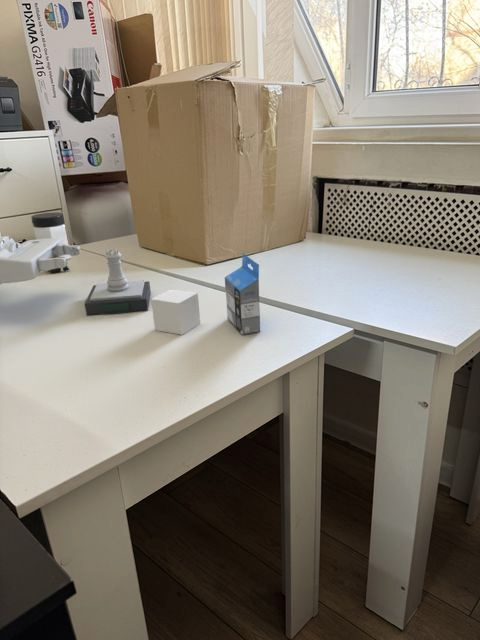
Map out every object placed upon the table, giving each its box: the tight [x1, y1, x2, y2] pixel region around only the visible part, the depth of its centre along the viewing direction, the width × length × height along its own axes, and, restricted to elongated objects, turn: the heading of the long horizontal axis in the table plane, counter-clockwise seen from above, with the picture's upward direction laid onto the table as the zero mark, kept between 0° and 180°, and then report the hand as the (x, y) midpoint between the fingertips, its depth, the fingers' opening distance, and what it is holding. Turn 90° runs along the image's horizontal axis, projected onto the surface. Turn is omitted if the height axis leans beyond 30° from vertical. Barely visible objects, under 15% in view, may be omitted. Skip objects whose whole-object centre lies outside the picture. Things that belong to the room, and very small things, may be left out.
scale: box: [84, 280, 152, 316], centre depth 106 cm, size 12×12×3 cm
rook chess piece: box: [104, 248, 129, 292], centre depth 104 cm, size 4×4×8 cm
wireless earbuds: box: [48, 265, 71, 274], centre depth 131 cm, size 5×7×3 cm, turn 30°
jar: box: [31, 212, 72, 260], centre depth 140 cm, size 9×8×12 cm
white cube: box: [150, 288, 201, 336], centre depth 93 cm, size 6×6×6 cm
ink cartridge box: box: [224, 252, 261, 336], centre depth 91 cm, size 9×4×12 cm, turn 21°
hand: (72, 256), depth 102 cm, fingers open, 8 cm apart
